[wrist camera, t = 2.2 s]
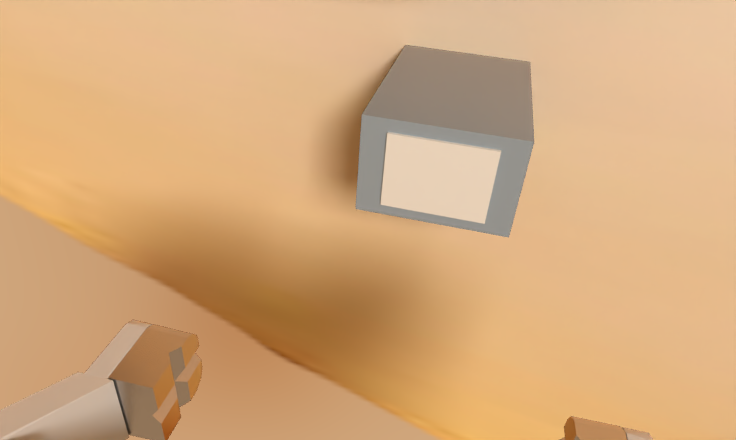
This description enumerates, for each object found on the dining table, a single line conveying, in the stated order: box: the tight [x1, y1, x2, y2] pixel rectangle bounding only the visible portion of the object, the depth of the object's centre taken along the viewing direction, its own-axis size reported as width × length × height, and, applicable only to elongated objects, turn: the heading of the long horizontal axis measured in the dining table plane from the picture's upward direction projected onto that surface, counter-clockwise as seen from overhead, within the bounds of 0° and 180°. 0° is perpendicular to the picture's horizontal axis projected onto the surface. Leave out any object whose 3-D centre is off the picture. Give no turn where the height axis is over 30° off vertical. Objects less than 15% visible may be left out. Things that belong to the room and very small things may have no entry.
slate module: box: [356, 45, 534, 237], centre depth 23 cm, size 6×4×9 cm, turn 86°
